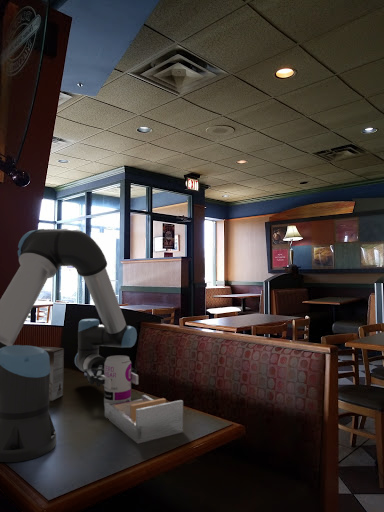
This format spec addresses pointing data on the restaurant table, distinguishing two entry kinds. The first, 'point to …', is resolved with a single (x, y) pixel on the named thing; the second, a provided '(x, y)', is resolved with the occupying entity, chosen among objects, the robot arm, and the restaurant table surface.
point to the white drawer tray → (147, 419)
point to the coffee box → (55, 371)
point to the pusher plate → (144, 404)
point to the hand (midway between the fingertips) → (123, 382)
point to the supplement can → (118, 379)
